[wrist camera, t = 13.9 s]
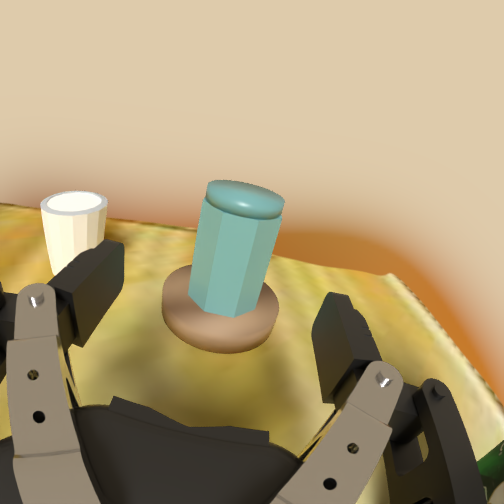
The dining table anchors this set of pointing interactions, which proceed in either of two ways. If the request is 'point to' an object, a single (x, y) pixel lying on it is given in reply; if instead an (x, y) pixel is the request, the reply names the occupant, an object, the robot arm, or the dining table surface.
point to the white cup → (72, 225)
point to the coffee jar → (493, 474)
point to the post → (215, 318)
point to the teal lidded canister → (233, 246)
